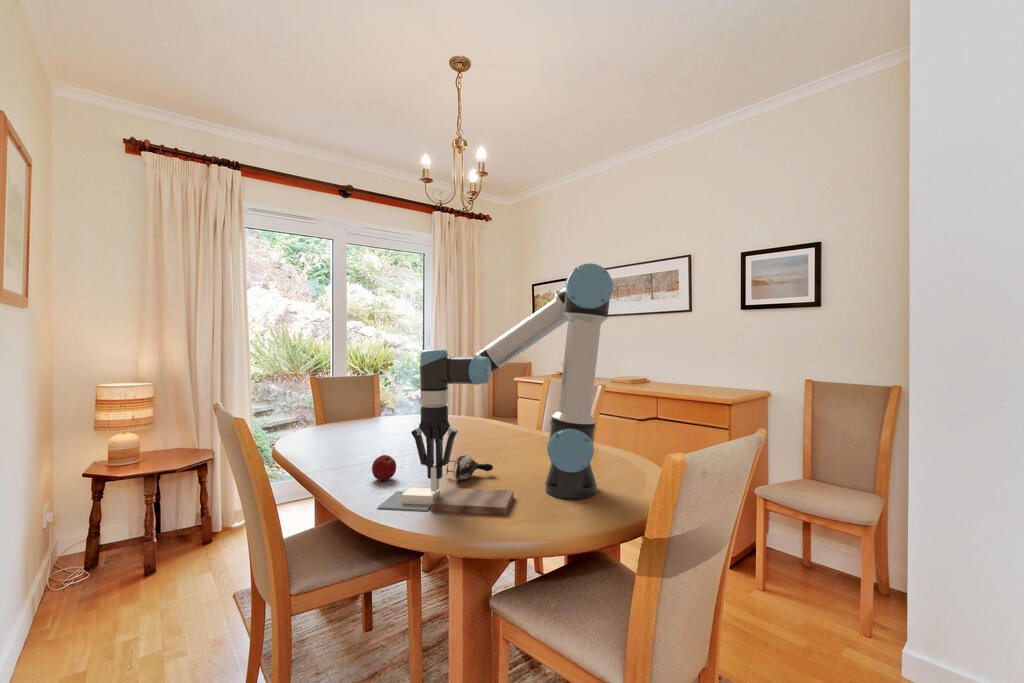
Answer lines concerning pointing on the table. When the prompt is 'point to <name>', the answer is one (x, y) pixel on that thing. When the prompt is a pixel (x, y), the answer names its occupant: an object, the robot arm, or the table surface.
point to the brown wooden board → (473, 501)
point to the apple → (384, 467)
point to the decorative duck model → (467, 467)
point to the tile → (419, 496)
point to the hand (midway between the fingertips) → (435, 489)
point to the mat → (396, 504)
